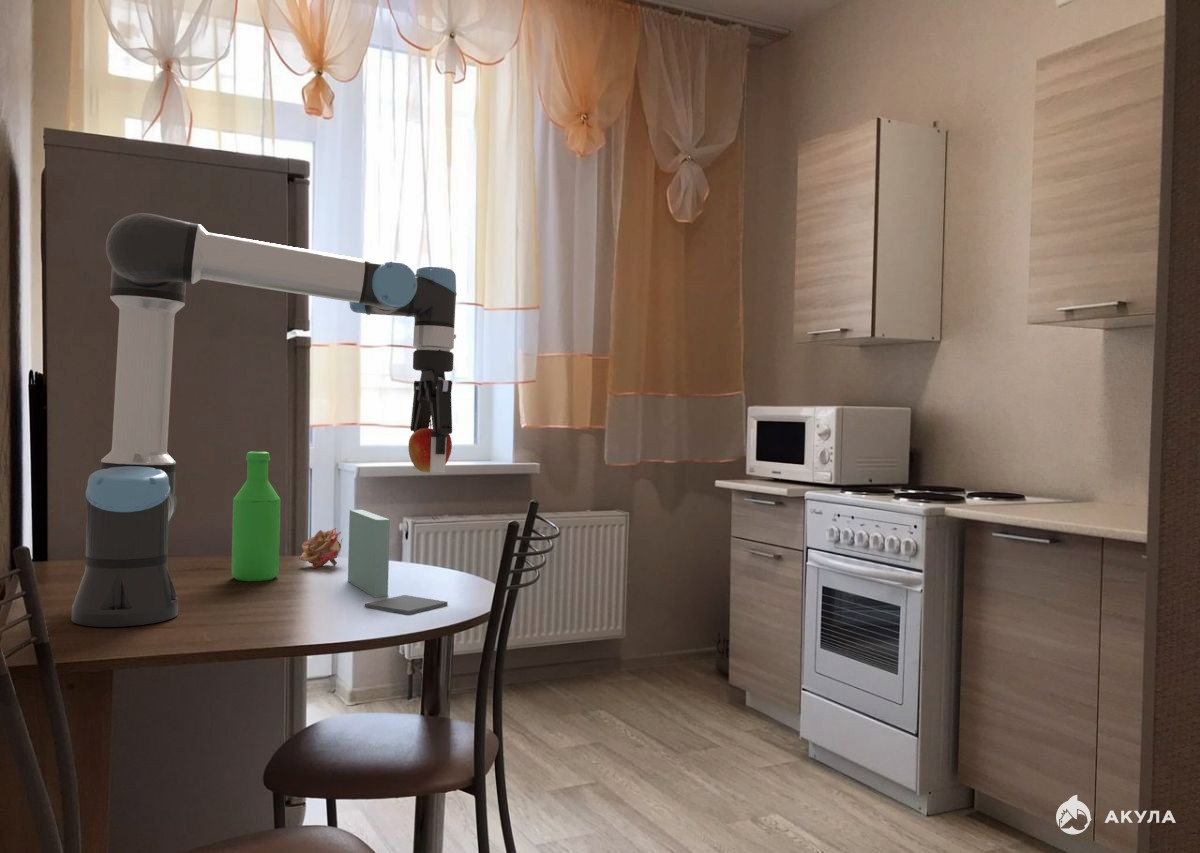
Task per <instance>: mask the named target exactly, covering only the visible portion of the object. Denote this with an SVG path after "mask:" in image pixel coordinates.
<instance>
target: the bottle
mask: <svg viewBox="0 0 1200 853" xmlns="http://www.w3.org/2000/svg"><path fill="white" fill-rule="evenodd" d="M245 460H246V461H247V462H246V463H247V464H246V466H247V469H246V470H247V471H246V481H245V482H244V484H243V485H242V487H241V488H240V489H239V491H238V492H237V493H236V495H235V496H234V497H233V500H232V535H231V536H232V537H231V538H232V540H231V544H232V545H231V576H232V577H233V578H234V579H235V580H236V581H241V582H266V581H271V580H273V579H275V577H277V576H278V575H279V574H280V573H279V569H280V543H281V541H280V540H281V538H280V537H281V536H280V535H281V501H282V500H281V498H280V496H279V495H278V494H277V492H276V490H275V489H274V486H272V484H271V483H270V481H269V461H271V457H270V452H267V451H262V450H261V451H257V450H256V451H255V450H254V451H249V452H247V453H246V457H245Z"/></svg>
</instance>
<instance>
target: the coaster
mask: <svg viewBox="0 0 1200 853" xmlns="http://www.w3.org/2000/svg"><path fill="white" fill-rule="evenodd" d="M446 606H448V601H445V600H440V599H432V598H425V597H419V596H413V595H406V594H403V595H399V596H393V597H389V598H385V599H379V600H375V601H370V602H366V603H365V602H364V608H369V609H374V610H379V611H380V610H381V611H387V612H390V613H391V612H393V613H399V614H402V615H403V614H404V615H413V614H417V613H420V612H424V611H430V610H433V609H438V608H441V607H446Z"/></svg>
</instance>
